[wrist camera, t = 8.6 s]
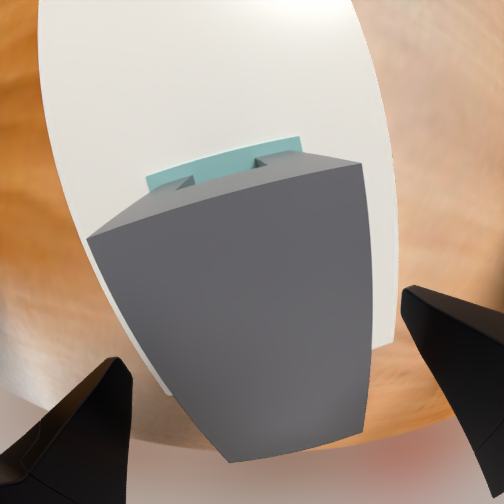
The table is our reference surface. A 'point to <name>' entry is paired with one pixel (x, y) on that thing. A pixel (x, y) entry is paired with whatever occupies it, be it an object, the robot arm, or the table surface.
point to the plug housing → (252, 299)
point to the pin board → (211, 107)
